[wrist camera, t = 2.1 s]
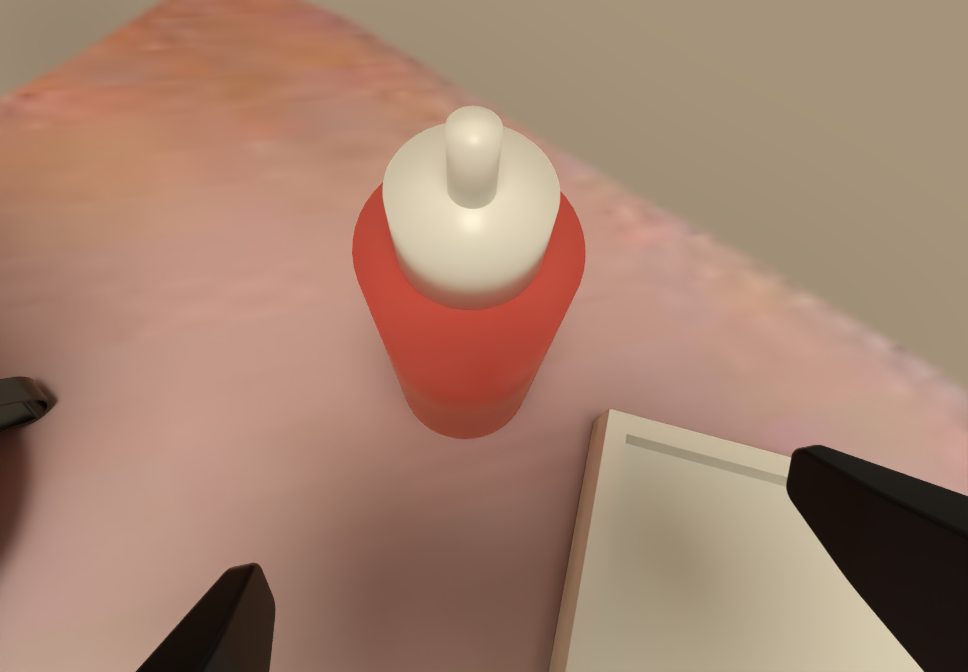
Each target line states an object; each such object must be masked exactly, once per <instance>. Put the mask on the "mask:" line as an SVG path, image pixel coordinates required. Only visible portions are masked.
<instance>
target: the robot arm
mask: <svg viewBox="0 0 968 672" xmlns="http://www.w3.org/2000/svg"><path fill="white" fill-rule="evenodd" d="M786 490H787V494H788V496H789V498H790V500H791V502H792V503H793V504H794V506H795V507H796V509H797V510H798V512H799V513H800V514H801V516H802V517H803V519H804V520H805V521H806V523H807V524H808V526H809V527H810V529H811V530H812V531H813V533H814V534H815V536H816V537H817V538H818V540H819V541H820V543H821V544H822V546H823V547H824V548H825V550H826V551H827V553H828V554H829V555H830V557H831V558H832V560H833V561H834V563H835V564H836V565H837V567H838V568H839V569H840V571H841V572H842V574H843V575H844V576H845V578H846V579H847V580H848V582H849V583H850V584H851V585H852V587H853V588H854V589H855V590H856V592H857V593H858V594H859V595H860V596H861V598H862V599H863V600H864V601H865V602H866V604H867V605H868V606H869V607H870V608H871V610H872V611H873V612H874V613H875V614H876V615H877V617H878V618H879V619H880V620H881V621H882V623H883V624H884V625H885V626H886V627H887V629H888V630H889V631H890V632H891V633H892V635H893V636H894V637H895V638H896V639H897V640H898V642H899V643H900V644H901V645H902V646H903V648H904V649H905V650H906V651H907V652H908V654H909V655H910V656H911V657H912V658H913V660H914V661H915V662H916V663H917V664H918V665H919V667H920V668H921V669H922V670H923V671H924V672H968V496H966V495H963V494H960V493H957V492H954V491H951V490H948V489H946V488H943V487H940V486H937V485H934V484H931V483H928V482H926V481H923V480H920V479H917V478H914V477H911V476H908V475H906V474H903V473H900V472H897V471H894V470H891V469H888V468H886V467H883V466H880V465H877V464H874V463H871V462H868V461H865V460H863V459H860V458H857V457H854V456H851V455H848V454H845V453H843V452H840V451H837V450H834V449H831V448H828V447H825V446H822V445H812V446H807V447H802V448H798V449H796V450H795V451H794V452H793V453H792V456H791V461H790V466H789V471H788V477H787V482H786ZM274 622H275V602H274V598H273V595H272V592H271V590H270V588H269V585H268V583H267V580H266V578H265V575H264V573H263V570H262V568H261V567H260V565H259V564H257V563H249V564H245V565H240V566H235V567H232V568H229V569H228V570H227V571H226V572H224V573H223V575H222V576H221V577H220V578H219V579H218V580H217V581H216V582H215V584H214V585H213V586H212V587H211V588H210V589H209V590H208V591H207V592H206V594H205V595H204V596H203V597H202V598H201V599H200V600H199V601H198V603H197V604H196V605H195V606H194V607H193V608H192V609H191V610H190V611H189V613H188V614H187V615H186V616H185V617H184V618H183V619H182V620H181V622H180V623H179V624H178V625H177V626H176V627H175V628H174V629H173V630H172V632H171V633H170V634H169V635H168V636H167V637H166V638H165V639H164V641H163V642H162V643H161V644H160V645H159V646H158V647H157V648H156V650H155V651H154V652H153V653H152V654H151V655H150V656H149V657H148V658H147V660H146V661H145V662H144V663H143V664H142V665H141V666H140V667H139V669H138V670H137V671H136V672H269V670H270V660H271V651H272V641H273V632H274Z"/></svg>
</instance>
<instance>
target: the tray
mask: <svg viewBox="0 0 968 672" xmlns="http://www.w3.org/2000/svg"><path fill="white" fill-rule="evenodd" d="M790 461H791V457H788V456H784V455H780V454H777V453H773V452H769V451H765V450H762V449H758V448H754V447H751V446H747V445H743V444H739V443H736V442H732V441H728V440H724V439H721V438H717V437H713V436H709V435H706V434H702V433H698V432H694V431H691V430H687V429H683V428H680V427H676V426H672V425H668V424H665V423H661V422H657V421H653V420H650V419H646V418H642V417H638V416H635V415H631V414H627V413H624V412H620V411H616V410H612V409H609V410H608V411H606V412H605V413H604V414H603V415H601V416H600V417H599V418H598V419H597V420H595V421H594V422H593V428H592V433H591V439H590V444H589V450H588V455H587V461H586V467H585V472H584V478H583V483H582V489H581V494H580V500H579V506H578V511H577V517H576V522H575V528H574V533H573V539H572V545H571V550H570V556H569V561H568V567H567V572H566V578H565V583H564V589H563V595H562V600H561V606H560V611H559V617H558V622H557V628H556V634H555V639H554V645H553V650H552V656H551V661H550V667H549V672H924V671H923V670H922V669H921V668H920V667H919V665H918V664H917V663H916V662H915V661H914V660H913V658H912V657H911V656H910V655H909V654H908V652H907V651H906V650H905V649H904V648H903V646H902V645H901V644H900V643H899V642H898V640H897V639H896V638H895V637H894V636H893V635H892V633H891V632H890V631H889V630H888V629H887V627H886V626H885V625H884V624H883V623H882V621H881V620H880V619H879V618H878V617H877V615H876V614H875V613H874V612H873V611H872V610H871V608H870V607H869V606H868V605H867V604H866V602H865V601H864V600H863V599H862V598H861V596H860V595H859V594H858V593H857V592H856V590H855V589H854V588H853V587H852V585H851V584H850V583H849V582H848V580H847V579H846V578H845V576H844V575H843V574H842V572H841V571H840V569H839V568H838V567H837V565H836V564H835V563H834V561H833V560H832V558H831V557H830V555H829V554H828V553H827V551H826V550H825V548H824V547H823V546H822V544H821V543H820V541H819V540H818V538H817V537H816V536H815V534H814V533H813V531H812V530H811V529H810V527H809V526H808V524H807V523H806V521H805V520H804V519H803V517H802V516H801V514H800V513H799V512H798V510H797V509H796V507H795V506H794V504H793V503H792V502H791V500H790V498H789V496H788V494H787V490H786V482H787V477H788V471H789V466H790Z"/></svg>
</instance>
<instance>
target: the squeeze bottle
mask: <svg viewBox="0 0 968 672" xmlns="http://www.w3.org/2000/svg"><path fill="white" fill-rule="evenodd" d="M352 255H353V263H354V269H355V272H356V276H357V280H358V282H359V285H360V287H361V289H362V292H363V294H364V297H365V299H366V302H367V304H368V306H369V309H370V311H371V314H372V316H373V319H374V321H375V324H376V326H377V328H378V331H379V333H380V336H381V338H382V341H383V343H384V345H385V348H386V350H387V353H388V355H389V358H390V360H391V363H392V365H393V367H394V370H395V372H396V375H397V377H398V380H399V382H400V384H401V387H402V389H403V392H404V394H405V397H406V399H407V401H408V404H409V406H410V408H411V409H412V411H413V412H414V414H415V415H416V416H417V417H418V419H419V420H420V421H421V422H423V423H424V424H425V425H426V426H427V427H429V428H430V429H432V430H434V431H436V432H437V433H439V434H442V435H445V436H448V437H453V438H460V439H470V438H477V437H482V436H485V435H488V434H491V433H493V432H495V431H497V430H498V429H500V428H501V427H503V426H504V425H505V424H506V423H508V422H509V421H510V420H511V419H512V417H513V416H514V415H515V414H516V412H517V411H518V409H519V408H520V406H521V404H522V402H523V400H524V398H525V396H526V394H527V392H528V390H529V387H530V385H531V383H532V381H533V379H534V377H535V375H536V373H537V371H538V369H539V367H540V365H541V363H542V361H543V359H544V357H545V355H546V353H547V351H548V349H549V347H550V345H551V343H552V340H553V338H554V336H555V334H556V332H557V330H558V328H559V326H560V324H561V322H562V320H563V318H564V316H565V314H566V312H567V310H568V308H569V306H570V304H571V302H572V300H573V298H574V296H575V293H576V291H577V289H578V287H579V285H580V282H581V278H582V275H583V272H584V265H585V242H584V236H583V231H582V228H581V225H580V222H579V219H578V217H577V215H576V213H575V211H574V209H573V207H572V206H571V204H570V203H569V201H568V200H567V198H566V197H565V196H564V195H563V193H562V192H561V191H560V187H559V181H558V178H557V175H556V172H555V170H554V168H553V166H552V164H551V162H550V161H549V159H548V158H547V156H546V155H545V154H544V153H543V152H542V150H541V149H540V148H539V147H538V146H537V145H535V144H534V143H533V142H532V141H531V140H529V139H528V138H526V137H525V136H523V135H521V134H520V133H518V132H516V131H514V130H512V129H509V128H507V127H504V126H503V124H502V122H501V120H500V118H499V117H498V116H497V115H496V114H495V113H494V112H493V111H491V110H489V109H487V108H484V107H480V106H466V107H462V108H460V109H457V110H456V111H454V112H453V113H452V114H451V115H450V116H449V117H448V119H447V121H446V123H445V124H440V125H437V126H434V127H431V128H429V129H427V130H425V131H423V132H421V133H419V134H417V135H416V136H414V137H413V138H411V139H410V140H409V141H407V142H406V143H405V144H404V145H403V146H402V147H401V148H400V149H399V150H398V151H397V153H396V154H395V155H394V157H393V158H392V160H391V161H390V163H389V165H388V167H387V170H386V173H385V176H384V181H383V183H382V184H381V185H380V186H379V187H378V188H377V189H376V190H375V191H374V192H373V194H372V195H371V196H370V198H369V199H368V201H367V202H366V203H365V205H364V207H363V209H362V211H361V213H360V215H359V218H358V221H357V224H356V226H355V231H354V236H353V248H352Z"/></svg>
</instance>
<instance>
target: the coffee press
mask: <svg viewBox="0 0 968 672" xmlns="http://www.w3.org/2000/svg"><path fill="white" fill-rule="evenodd" d="M50 407H51V402H50V400H49V399H48V398H47V397H46V396H45V394H44V393H43V392H42V391H41V390H40V388H39V387H38V386H37V385H36V384H35V382H34V381H33V380H32V379H30V378H28V377H11V378H5V379H0V432H3V431H7V430H10V429H13V428H17V427H20V426H23V425H26V424H29V423H32V422H34V421H36V420H38V419H39V418H41V417H42V416H44V415H45V414H46V413H47V412H48V411H49V409H50Z"/></svg>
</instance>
